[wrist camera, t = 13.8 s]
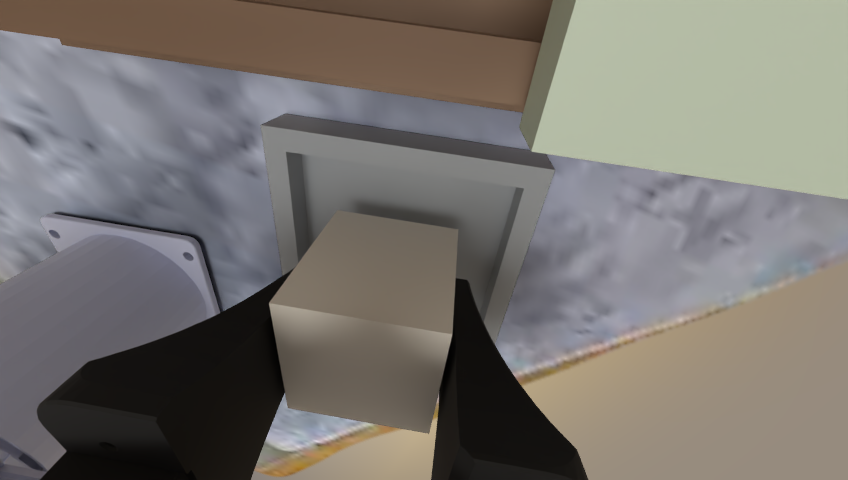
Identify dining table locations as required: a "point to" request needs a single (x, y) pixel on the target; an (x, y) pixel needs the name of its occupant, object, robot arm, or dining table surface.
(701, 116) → the cover
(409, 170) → the tray
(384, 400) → the block
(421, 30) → the puzzle board
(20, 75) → the dining table surface
